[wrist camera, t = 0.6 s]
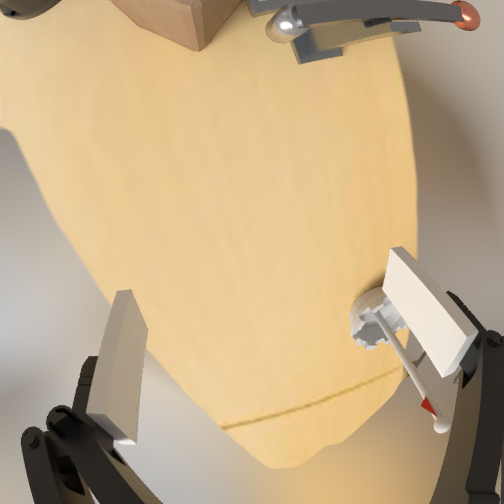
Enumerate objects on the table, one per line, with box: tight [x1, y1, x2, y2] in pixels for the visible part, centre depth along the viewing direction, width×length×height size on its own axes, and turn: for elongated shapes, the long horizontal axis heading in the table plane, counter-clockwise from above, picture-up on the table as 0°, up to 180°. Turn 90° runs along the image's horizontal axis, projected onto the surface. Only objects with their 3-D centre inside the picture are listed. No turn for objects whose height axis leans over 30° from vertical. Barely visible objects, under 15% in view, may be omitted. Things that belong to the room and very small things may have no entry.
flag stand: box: [349, 286, 451, 433], centre depth 42 cm, size 13×13×30 cm
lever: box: [266, 0, 480, 43], centre depth 15 cm, size 3×20×6 cm, turn 109°
